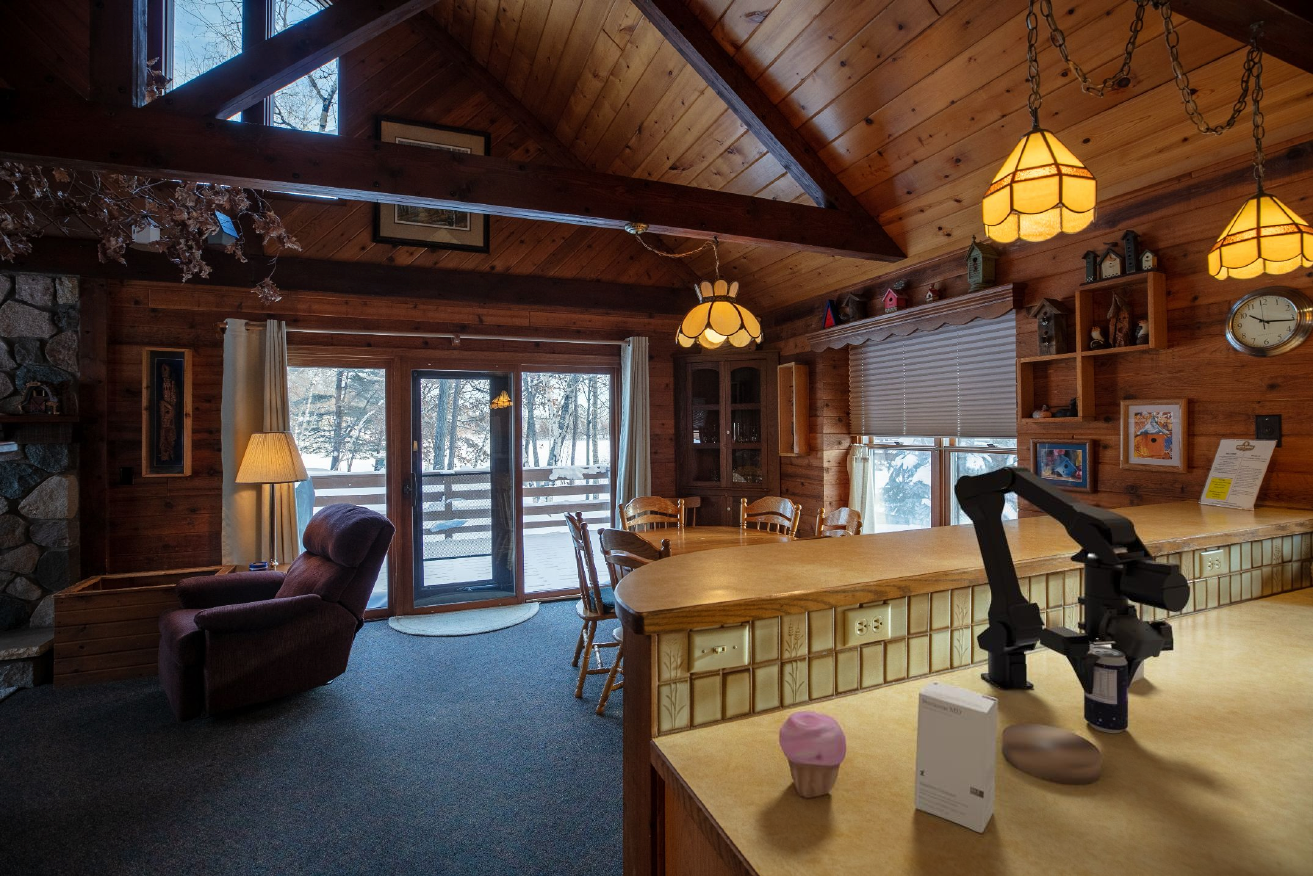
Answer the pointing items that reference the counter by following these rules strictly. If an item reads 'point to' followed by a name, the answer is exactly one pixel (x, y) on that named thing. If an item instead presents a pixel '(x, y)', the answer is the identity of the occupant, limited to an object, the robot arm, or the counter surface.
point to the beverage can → (1108, 692)
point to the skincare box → (956, 754)
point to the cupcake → (813, 751)
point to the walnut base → (1051, 754)
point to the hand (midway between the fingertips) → (1105, 692)
